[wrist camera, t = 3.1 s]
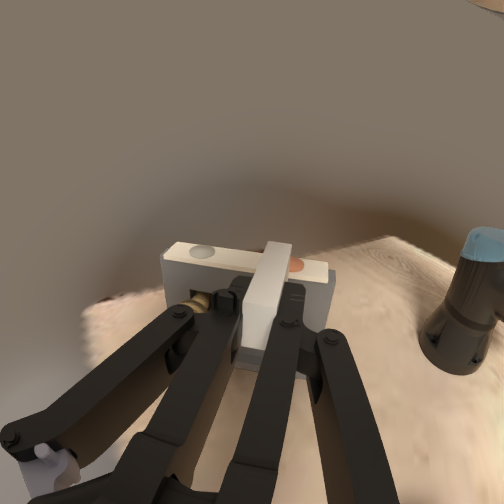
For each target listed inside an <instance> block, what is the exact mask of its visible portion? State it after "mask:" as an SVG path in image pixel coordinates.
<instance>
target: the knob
mask: <svg viewBox="0 0 504 504" xmlns="http://www.w3.org/2000/svg"><path fill="white" fill-rule="evenodd" d="M211 294H212V293H208V292H202V291H197V292H196V293H195V295H194V296H193V298H192V299H185V300H182V301H181V302H180V303H179V304H185V305H188V306H190V307H192V309H193V310H194V313H205V312H208V310H207V308H208V306H209V305H210V303H211Z"/></svg>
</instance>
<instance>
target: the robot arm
mask: <svg viewBox="0 0 504 504" xmlns="http://www.w3.org/2000/svg"><path fill="white" fill-rule="evenodd" d="M467 1H469V2H470V3H472V4H474V5H476V6H478V7H480V8H481V9H484V10H485V11H487V12H489V13H491V14H493V15H495V16H497V17H499V18H501V19H502V20H504V0H467ZM291 250H292V244H286V243H278V242H272V241H268V243H267V246H266V248H265V250H264V253H263V255H262V257H261V260H260V262H259V264H258V267H257V269H256V271H255V274H254V276H253V277H248V276H241V275H239V276H237V277H236V278H234V279H233V280H232V282H231V284H230V286H229V288H228V289H218V290H216V291H214V292H213V293H212V294H211V305H212V309H211V311H210V312H205V313H194V310H193V309H192V307H190V306H188V305H185V304H177V305H173V306H171V307H169V308H168V309H167V310H165V311H164V312H163V313H162V314H160V315H159V316H158V317H157V318H156V319H154V320H153V321H152V322H151V323H149V324H148V325H147V326H146V327H144V328H143V329H142V330H141V331H140V332H138V333H137V334H136V335H135V336H133V337H132V338H131V339H130V340H129V341H127V342H126V343H125V344H124V345H122V346H121V347H120V348H119V349H118V350H116V351H115V352H114V353H113V354H112V355H110V356H109V357H108V358H107V359H105V360H104V361H103V362H102V363H101V364H99V365H98V366H97V367H96V368H95V369H93V370H92V371H91V372H90V373H89V374H87V375H86V376H85V377H84V378H83V379H81V380H80V381H79V382H78V383H76V384H75V385H74V386H73V387H72V388H71V389H69V390H68V391H67V392H66V393H64V394H63V395H62V396H61V397H60V398H58V400H56V401H55V402H54V403H53V404H51V405H50V406H49V407H48V408H47V409H45V410H43V411H41V412H38V413H36V414H33V415H30V416H28V417H25V418H22V419H20V420H17V421H14V422H11V423H8V424H7V425H5V426H4V427H3V428H2V430H1V432H0V443H1V446H2V447H3V448H4V449H5V450H6V451H7V452H8V453H9V454H10V455H11V456H13V457H14V458H15V459H16V460H17V461H18V463H19V466H20V469H21V472H22V475H23V478H24V481H25V483H26V486H27V488H28V491H29V493H30V496H31V498H32V500H30V501H29V502H28V503H27V504H271V502H272V497H273V493H274V489H275V485H276V480H277V476H278V467H279V462H280V457H281V452H282V447H283V442H284V437H285V432H286V427H287V422H288V416H289V411H290V405H291V399H292V393H293V387H294V381H295V375H296V371H297V372H299V373H302V374H304V375H306V380H307V386H308V391H309V396H310V401H311V407H312V412H313V418H314V423H315V429H316V434H317V440H318V446H319V452H320V458H321V464H322V470H323V476H324V482H325V488H326V495H327V501H328V504H400V503H399V500H398V496H397V492H396V488H395V485H394V481H393V477H392V474H391V470H390V467H389V463H388V460H387V456H386V453H385V450H384V446H383V443H382V440H381V437H380V433H379V430H378V427H377V424H376V421H375V418H374V415H373V412H372V409H371V406H370V403H369V400H368V397H367V394H366V391H365V388H364V386H363V383H362V380H361V377H360V374H359V372H358V369H357V366H356V363H355V361H354V358H353V355H352V353H351V350H350V347H349V345H348V342H347V339H346V337H345V336H344V334H342V333H341V332H340V331H337V330H335V329H323V330H321V331H320V332H319V333H317V332H314V331H312V330H310V329H309V328H307V327H306V326H305V325H304V323H303V312H304V304H305V295H306V289H305V287H304V285H303V284H298V283H291V282H288V274H289V266H290V258H291ZM498 320H501V321H502V322H504V230H500V229H496V228H490V227H477V228H474V229H473V230H471V231H470V233H469V235H468V237H467V240H466V243H465V245H464V248H463V250H462V251H461V257H460V260H459V263H458V266H457V268H456V271H455V274H454V277H453V279H452V282H451V285H450V287H449V290H448V292H447V295H446V297H445V299H444V301H443V303H442V304H441V305H440V306H439V307H438V308H437V309H436V310H435V311H434V313H433V314H432V315H431V316H430V317H429V318H428V319H427V320H426V322H425V323H424V325H423V327H422V330H421V332H420V335H419V342H420V346H421V348H422V350H423V352H424V354H425V355H426V357H427V358H428V359H429V360H430V361H431V362H432V363H433V364H434V365H436V366H437V367H438V368H440V369H442V370H443V371H445V372H448V373H451V374H454V375H469V374H472V373H474V372H475V371H477V370H478V368H479V367H480V366H481V364H482V363H483V361H484V360H485V358H486V355H487V352H488V348H489V344H490V340H491V336H492V332H493V329H494V327H495V325H496V323H497V321H498ZM240 342H241V346H244V347H249V348H254V349H260V350H265V352H264V356H263V359H262V363H261V367H260V370H259V374H258V377H257V381H256V384H255V388H254V391H253V394H252V398H251V401H250V405H249V408H248V411H247V415H246V418H245V421H244V424H243V428H242V431H241V434H240V437H239V440H238V444H237V447H236V450H235V453H234V456H233V459H232V460H231V462H230V463H229V465H228V468H227V470H226V473H225V476H224V479H223V482H222V485H221V488H220V491H219V493H216V492H200V491H194V490H192V489H190V488H191V485H192V481H193V474H194V470H195V467H196V464H197V462H198V459H199V457H200V454H201V452H202V449H203V447H204V444H205V441H206V439H207V436H208V434H209V431H210V429H211V426H212V423H213V421H214V418H215V415H216V413H217V410H218V408H219V405H220V402H221V400H222V397H223V394H224V392H225V389H226V386H227V384H228V381H229V378H230V376H231V373H232V370H233V367H234V365H235V362H236V359H237V356H238V354H239V344H240ZM168 386H169V387H168ZM167 387H168V389H167V391H166V393H165V394H164V396H163V398H162V400H161V402H160V404H159V405H158V407H157V409H156V411H155V413H154V415H153V416H152V418H151V420H150V422H149V424H148V426H147V427H146V429H145V430H144V431H143V432H137V433H136V434H135V435H134V436H133V437H132V439H131V440H130V442H129V444H128V446H127V447H126V449H125V451H124V453H123V455H122V456H121V458H120V460H119V462H118V464H117V465H116V467H115V469H114V471H113V472H111V473H108V474H105V475H103V476H100V477H98V478H95V479H92V480H89V481H87V482H84V483H81V484H78V485H75V486H72V487H70V485H72V484H73V483H78V482H79V481H80V479H81V476H80V469H82V468H84V467H86V466H87V465H89V464H90V463H92V462H93V461H95V460H96V459H97V458H98V457H99V456H100V455H102V454H103V453H104V452H105V451H106V450H107V449H108V448H109V447H110V446H111V445H112V444H113V443H114V442H115V441H116V440H117V439H118V438H119V437H120V436H121V435H122V434H123V433H124V432H125V431H126V430H127V429H128V428H129V427H130V426H131V425H132V424H133V423H134V422H135V421H136V420H137V419H138V418H139V416H140V415H141V414H142V413H143V412H144V411H145V410H146V409H147V408H148V407H149V406H150V405H151V404H152V403H153V402H154V401H155V400H156V399H157V398H158V397H159V396H160V395H161V394H162V393H163V392H164V391H165V389H166V388H167Z"/></svg>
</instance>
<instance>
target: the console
mask: <svg viewBox="0 0 504 504" xmlns="http://www.w3.org/2000/svg"><path fill="white" fill-rule="evenodd" d="M262 255H263V253H256V252H248V251H241V250H233V249H226V248H219V247H212V246H208V245H197V244H190V243H182V242H176V243H175V244H174V245H173V246H172V247H171V248H170V247H168V248H167V249H166V250H165V251H164V252H163V253H162V254H161V255H160V261H161V269H162V276H163V283H164V290H165V297H166V303H167V309H168V308H169V307H171V306H173V305H177V304H179V303H180V302H181V301H182V300H185V299H192V298H193V296H194V295H195V293H196V292H197V291H202V292H208V293H213V292H214V291H216V290H218V289H228V288H229V286H230V284H231V282H232V280H233V279H234V278H236V277H237V276H239V275H241V276H248V277H253V276H254V274H255V271H256V269H257V267H258V264H259V262H260V260H261V257H262ZM288 282H291V283H298V284H303V285H304V287H305V289H306V295H305V304H304V312H303V323H304V325H305V326H306V327H307V328H309V329H310V330H312V331H314V332H317V333H319V332H320V331H321V330H323V329H325V325H326V321H327V317H328V313H329V309H330V305H331V301H332V296H333V292H334V288H335V283H336V275H335V270H328V262H322V261H315V260H307V259H300V258H296V257H291V258H290V266H289V274H288ZM211 309H212V305H211V303H210V305H209V306H208V308H207V310H208V312H210V311H211ZM264 352H265V350H260V349H254V348H249V347H244V346H241V342H240V344H239V354H238V356H237V359H236V362H235V365H234V367H236V368H240V369H245V370H251V371H256V372H259V370H260V367H261V363H262V359H263V356H264ZM295 378H299V379H306V375H304V374H302V373H299V372H297V371H296V375H295Z"/></svg>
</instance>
